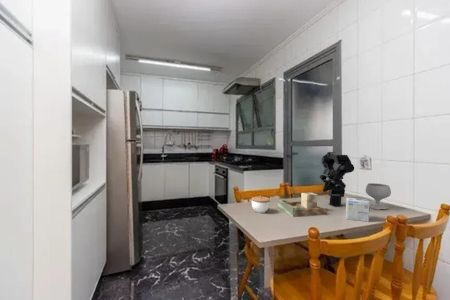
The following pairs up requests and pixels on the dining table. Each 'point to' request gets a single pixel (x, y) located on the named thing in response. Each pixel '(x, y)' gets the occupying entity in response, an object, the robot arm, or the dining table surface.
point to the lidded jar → (260, 204)
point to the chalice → (378, 194)
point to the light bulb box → (357, 209)
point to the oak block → (309, 200)
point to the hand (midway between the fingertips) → (323, 191)
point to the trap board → (299, 209)
